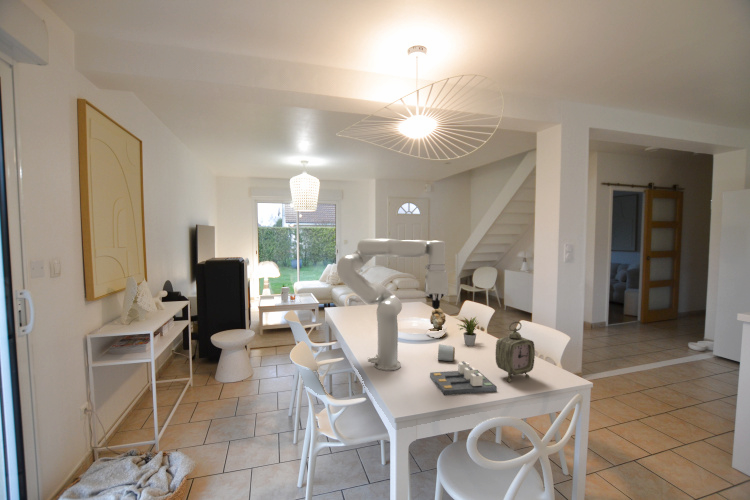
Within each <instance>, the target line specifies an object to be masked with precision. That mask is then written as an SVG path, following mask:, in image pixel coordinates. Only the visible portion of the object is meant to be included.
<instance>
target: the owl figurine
mask: <svg viewBox="0 0 750 500" xmlns="http://www.w3.org/2000/svg"><path fill="white" fill-rule="evenodd" d="M429 321H430V325H432V328H429V329H428V330H430V331H439V330H442V328H443V326H444V324H445V323H446V321H447V320H446V314H445V312H444V310H443V309H442V308H440V307H439V309H434V308H433V309H432V311H431V315H430V319H429ZM433 327H434V328H433ZM443 329H444V328H443ZM428 330H427V331H428ZM446 337H447V333H446V332H445V334H444V335H443V336H442V337H440V338H439V339H438V340H442V339H445V338H446Z"/></svg>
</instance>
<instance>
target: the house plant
mask: <svg viewBox="0 0 750 500" xmlns="http://www.w3.org/2000/svg"><path fill="white" fill-rule="evenodd" d="M463 318H464V320H465V321H464V320H462V323H463V325H462V324H458V323H457V324H456V325H457V326H458V327H460V328H459V331H461V330H465V332H463V338H464V345H465V346H467V347H473V346H475V343H476V338H477V333H475V330H477V329H478V330H479V329H480V330H482V328H480V327H479V328H476V326H477V325H479V322H478V321H479V320H478V319H477V316H474V317H470V319H468V318H466V317H465V316H463ZM458 320H459V321H461V319H458Z"/></svg>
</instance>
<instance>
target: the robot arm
mask: <svg viewBox="0 0 750 500" xmlns="http://www.w3.org/2000/svg"><path fill="white" fill-rule="evenodd" d="M356 249H357V250H355V252H353V253H352V254H351V253H350V254H345V255H343V256H341V257H340V258H339V259H338V262H337V264H336V265H337V266H336V272H337V275H338V278H339V280H341V282H342V283H343V284H344V285H345V286H347V288H349V289H350V290H351V291H352V292H353V293H354V294H356V295H357V297H359V298H360V299H361V300H362V301H363V302H365V304H367V305H375V304H377V308H376V321H377V354H376V355H375V356H373V357H367V362H368V363H371V364H373V365H374V367H375V368H376V369H378V370H380V371H386V372H388V371H396V370H398V369H400V368H401V366H402V363H401V362H400V361H399V359H398V356H399V355H398V354H399V353H398V352H399V351H398V349H399V348H398V347H399V343H398V342H399V334H398V333H399V332H398V331H399V328H398V315H399V314H400V312H401V311H402V310H403V304H402V301H401V299H399V298H398V296H397V295H395V294H394V293H393V292H392V291H390V289H388V288H387V287H386V286H384V285H383V284H382V283H380V282H370V281H369V280H368V279H366V278H365V276H363V275H361V274H360V273H358V272H357V271H358V270H360V269H362V268H363V267H364V266H365V265H366V264H368V263H369V262H370V261H371V260H372V259H373V258H374V257H382V258H384V257H385V258H386V257H387V258H395V257H396V258H397V257H398V258H420V257H425V256H426V257H427V258H428V259H427V265H425V266H424V268H425V269H426V273H425V277H424V288H423V289H424V294H423V295H424V296H426V297H429V298H430V299H431V307H432V308H433V310H434V309H439V308H440V305H441V303H440V301H441V300H442V298H443V297H446V296H448V294H449V276H448V275H449V274H448V271H446V242H445V241H444V240H424V239H415V240H414V239H413V240H411V239H405V240H402V239H400V240H399V239H395V238H363V239H361V240H359V242H357V248H356Z"/></svg>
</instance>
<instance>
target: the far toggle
mask: <svg viewBox="0 0 750 500" xmlns="http://www.w3.org/2000/svg"><path fill="white" fill-rule="evenodd" d="M457 366H458V367H457V369H458V370H457V371H458V372H459V373H460V374H464V368H467V367H470V363H469V362H468V361H464V360H463V361H461V362H460V361H459V362H458V365H457Z"/></svg>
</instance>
